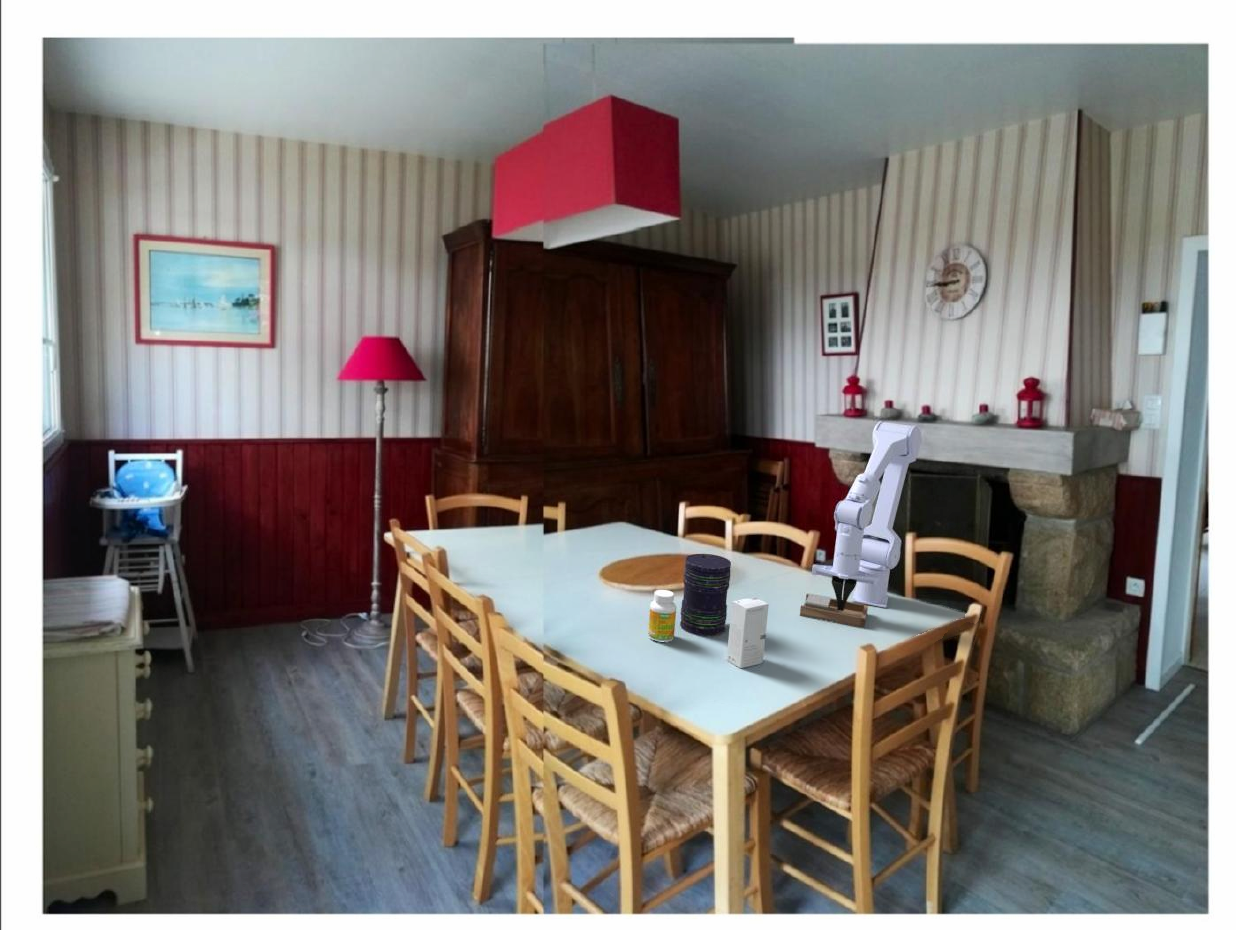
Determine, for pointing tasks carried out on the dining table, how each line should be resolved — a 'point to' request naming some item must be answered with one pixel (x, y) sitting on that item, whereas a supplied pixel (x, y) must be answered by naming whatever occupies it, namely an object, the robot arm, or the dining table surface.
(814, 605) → the cover plate
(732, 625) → the skincare box
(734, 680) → the dining table surface
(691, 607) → the dark blue cylinder
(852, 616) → the wooden box
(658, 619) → the supplement bottle
